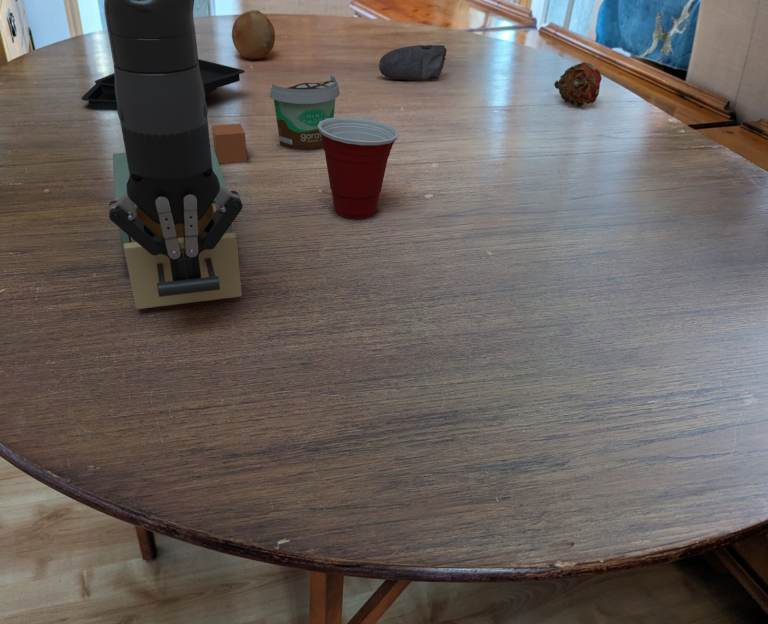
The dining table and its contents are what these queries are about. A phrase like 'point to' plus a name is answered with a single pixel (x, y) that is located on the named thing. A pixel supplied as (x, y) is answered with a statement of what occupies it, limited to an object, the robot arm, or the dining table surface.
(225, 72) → the tray
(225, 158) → the block
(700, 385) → the dining table surface
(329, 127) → the plastic cup
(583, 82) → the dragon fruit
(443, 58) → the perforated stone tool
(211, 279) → the drawer
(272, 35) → the brown oval lump
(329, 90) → the food container
